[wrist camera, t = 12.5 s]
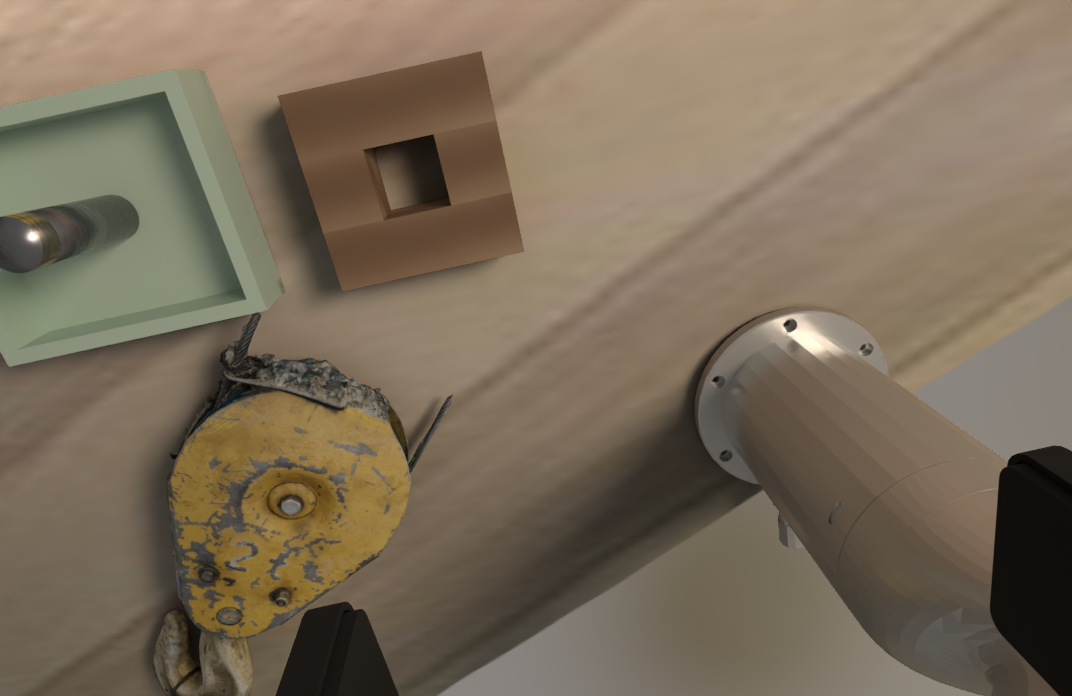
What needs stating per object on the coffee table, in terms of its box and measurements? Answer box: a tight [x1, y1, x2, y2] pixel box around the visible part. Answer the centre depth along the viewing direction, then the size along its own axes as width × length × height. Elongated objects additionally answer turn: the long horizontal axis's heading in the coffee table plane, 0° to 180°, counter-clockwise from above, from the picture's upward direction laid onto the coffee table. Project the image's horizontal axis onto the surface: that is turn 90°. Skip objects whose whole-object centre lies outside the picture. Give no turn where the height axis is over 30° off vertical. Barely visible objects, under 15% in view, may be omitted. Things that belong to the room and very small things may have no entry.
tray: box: [0, 69, 285, 367], centre depth 34 cm, size 12×14×4 cm
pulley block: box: [153, 313, 453, 696], centre depth 41 cm, size 14×6×30 cm
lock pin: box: [0, 195, 139, 273], centre depth 31 cm, size 2×2×8 cm
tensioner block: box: [278, 52, 524, 291], centre depth 35 cm, size 10×10×3 cm
